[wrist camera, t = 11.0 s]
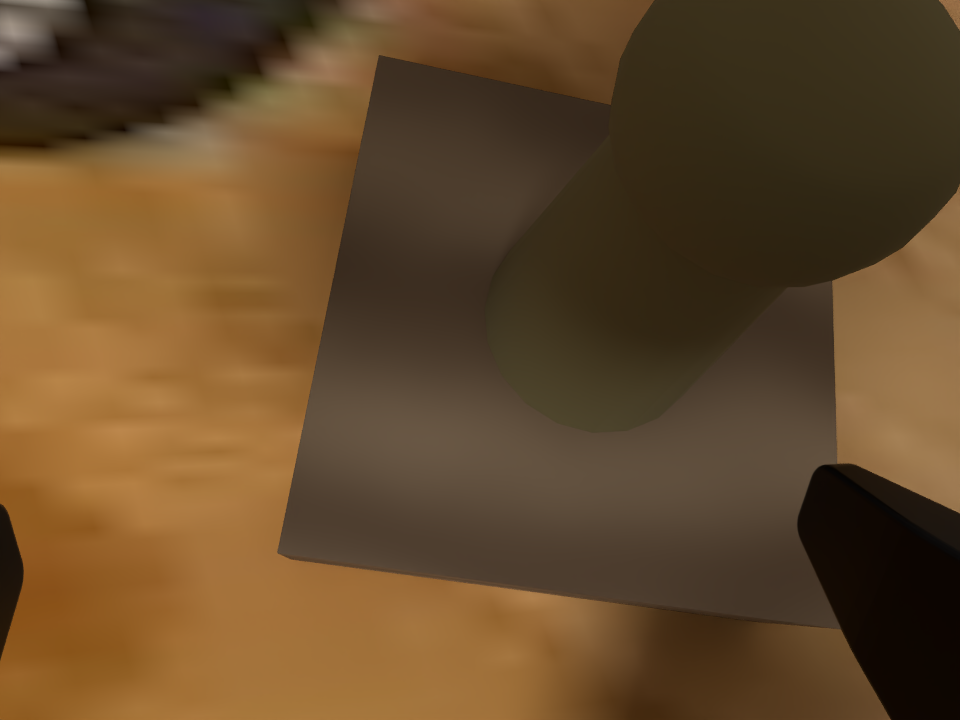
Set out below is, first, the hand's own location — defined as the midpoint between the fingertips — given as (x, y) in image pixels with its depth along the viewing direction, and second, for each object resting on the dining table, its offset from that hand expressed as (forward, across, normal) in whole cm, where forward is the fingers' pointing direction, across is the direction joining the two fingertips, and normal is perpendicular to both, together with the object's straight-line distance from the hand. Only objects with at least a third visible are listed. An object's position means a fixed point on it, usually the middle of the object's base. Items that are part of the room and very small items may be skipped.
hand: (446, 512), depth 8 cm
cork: (+11, -6, +3) cm, 13 cm away
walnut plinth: (+14, -6, +6) cm, 16 cm away
